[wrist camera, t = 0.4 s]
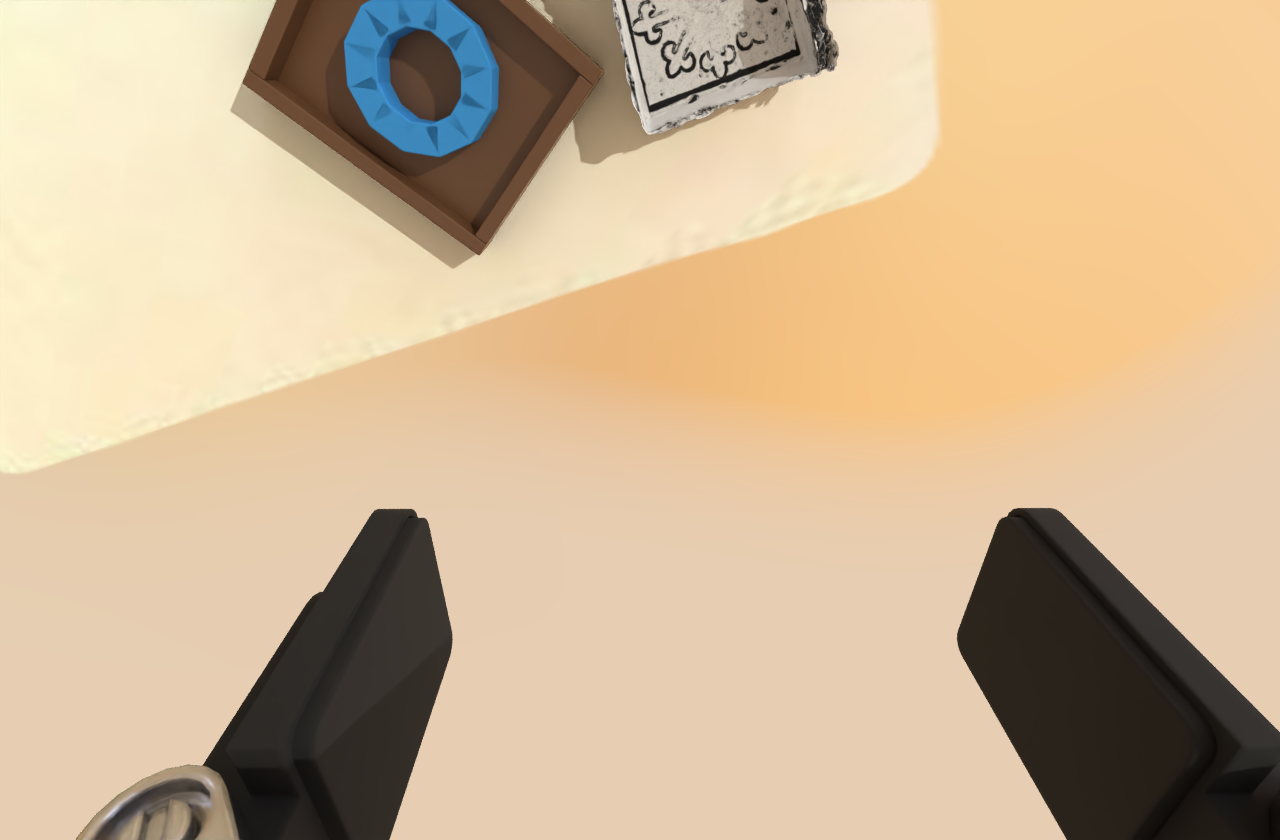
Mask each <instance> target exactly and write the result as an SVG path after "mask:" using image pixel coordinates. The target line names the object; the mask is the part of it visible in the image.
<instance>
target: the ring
mask: <svg viewBox="0 0 1280 840" xmlns="http://www.w3.org/2000/svg"><path fill="white" fill-rule="evenodd" d="M417 29H419V30H424V31H430V32H432V33H433V34H434V35H435V36H436V37H438V38H439V39H440V40H441V41H442V42H443V43H445V44H446V45H447V46H448V47H449V48H450V49H451V52H452V54H453V56H454V58H455V60H456V62H457V64H458V67H459V69H460V71H461V97H460V99H459V101H458V103H457V104H456V106H455V108H454V110H453V111H452V113H451V115H450V116H448V117H446V118H444V119H441V120H439V121H431V120H425V119H420V118H418V117H417V116H416V115H415V114H413V113H412V112H411V111H410V110H408V109H407V108H406V107H404V106H403V105H402V104H401V102H400V100H399V98H398V96H397V95H396V93H395V91H394V89H393V87H392V85H391V83H390V62H389V58H390V56H391V54H392V52H393V50H394V48H395V46H396V44H397V42H398V40H399V38H401V37H403V36H405V35H407V34H409V33H411V32H413V31H415V30H417ZM344 50H345V63H346V76H347V86H348V88H349V90H350V92H351V94H352V95H353V97H354V99H355V101H356V103H357V104H358V106H359V108H360V110H361V112H362V113H363V115H364V117H365V119H366V121H367V123H368V124H369V125H370V127H371V128H373V129H374V130H375V131H377V132H378V133H379V134H381V135H382V136H383V137H385V138H386V139H387V140H389V141H390V142H391V143H392V144H394V145H395V146H396V147H398V148H399V149H400V150H402V151H404V152H410V153H416V154H422V155H428V156H434V157H442V156H444V155H447V154H449V153H452V152H454V151H456V150H458V149H461V148H463V147H465V146H467V145H469V144H472V143H474V142H476V141H478V140H479V139H480V138H481V136H482V134H483V133H484V131H485V130H486V128H487V126H488V125H489V123H490V121H491V120H492V118H493V116H494V115H495V113H496V111H497V109H498V90H499V67H498V65H497V62H496V60H495V58H494V55H493V53H492V51H491V49H490V46H489V44H488V42H487V39H486V37H485V35H484V32H483V30H482V28H481V27H480V26H479V25H478V24H477V23H476V22H475V21H473V20H472V19H471V18H470V17H469V16H468V15H466V14H465V13H464V12H463V11H462V10H461V9H460V8H458V7H457V6H456V5H455V4H454V3H453V2H451V1H450V0H370V1H368V2H366V3H364V4H363V5H361V7H360V9H359V11H358V13H357V15H356V17H355V19H354V21H353V23H352V26H351V28H350V30H349V32H348V34H347V36H346V38H345V40H344Z"/></svg>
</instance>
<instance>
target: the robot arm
mask: <svg viewBox="0 0 1280 840" xmlns="http://www.w3.org/2000/svg"><path fill="white" fill-rule="evenodd" d="M957 642H958V646H959V650H960V652H961V655H962V657H963V659H964V660H965V662H966V664H967V666H968V667H969V669H970V671H971V673H972V674H973V676H974V678H975V679H976V681H977V683H978V685H979V686H980V688H981V690H982V692H983V694H984V695H985V697H986V699H987V700H988V702H989V704H990V706H991V708H992V709H993V711H994V713H995V715H996V716H997V718H998V720H999V721H1000V723H1001V725H1002V727H1003V729H1004V730H1005V732H1006V734H1007V736H1008V737H1009V739H1010V741H1011V743H1012V745H1013V746H1014V748H1015V750H1016V752H1017V753H1018V755H1019V757H1020V759H1021V760H1022V762H1023V764H1024V766H1025V767H1026V769H1027V771H1028V773H1029V774H1030V776H1031V778H1032V779H1033V781H1034V783H1035V785H1036V786H1037V788H1038V790H1039V792H1040V794H1041V795H1042V797H1043V799H1044V801H1045V802H1046V804H1047V806H1048V808H1049V809H1050V811H1051V813H1052V815H1053V816H1054V818H1055V820H1056V821H1057V823H1058V825H1059V827H1060V829H1061V830H1062V832H1063V834H1064V835H1065V837H1066V839H1067V840H1280V732H1279V731H1278V730H1277V729H1276V728H1275V727H1274V726H1273V725H1272V724H1271V723H1270V722H1269V721H1268V720H1267V719H1266V718H1265V717H1264V716H1263V715H1262V714H1261V713H1260V712H1259V711H1258V710H1257V709H1256V708H1255V707H1254V706H1253V705H1252V704H1251V703H1250V702H1249V701H1248V700H1247V699H1246V698H1245V697H1244V696H1243V695H1242V694H1241V693H1240V692H1239V691H1238V690H1237V689H1236V688H1235V687H1234V686H1233V685H1232V684H1231V683H1230V682H1229V681H1228V680H1227V679H1226V678H1225V677H1224V676H1223V675H1222V674H1221V673H1220V672H1219V671H1218V670H1217V669H1216V668H1215V667H1214V666H1213V665H1212V664H1211V663H1210V662H1209V661H1208V660H1207V659H1206V658H1205V657H1204V656H1203V655H1202V654H1201V653H1200V652H1199V651H1198V650H1197V649H1196V648H1195V647H1194V646H1193V645H1192V644H1191V643H1190V642H1189V641H1188V640H1187V639H1186V638H1185V637H1184V636H1183V635H1182V634H1181V633H1180V632H1179V631H1178V630H1177V629H1176V628H1175V627H1174V626H1173V625H1172V624H1171V623H1170V622H1169V621H1168V620H1167V619H1166V618H1165V617H1164V616H1163V615H1162V614H1161V613H1160V612H1159V611H1158V610H1157V609H1156V608H1155V607H1154V606H1153V605H1152V604H1151V603H1150V602H1149V601H1148V600H1147V598H1145V597H1144V595H1143V594H1142V593H1140V591H1138V589H1137V588H1136V587H1135V586H1134V585H1133V584H1132V583H1130V581H1128V579H1126V577H1125V576H1124V575H1123V574H1122V573H1121V572H1120V571H1118V570H1117V568H1115V566H1114V565H1113V564H1112V563H1111V562H1110V561H1109V560H1107V558H1106V557H1105V556H1104V555H1103V554H1102V553H1100V551H1099V550H1098V549H1097V548H1096V547H1095V546H1094V545H1093V544H1092V543H1091V542H1090V541H1089V540H1088V539H1087V538H1086V537H1085V536H1084V535H1083V534H1082V533H1081V532H1080V531H1079V530H1078V529H1077V528H1076V527H1075V526H1074V525H1073V524H1072V523H1071V522H1070V521H1069V520H1068V519H1067V518H1066V517H1065V516H1064V515H1063V514H1062V513H1060V512H1059V511H1057V510H1056V509H1052V508H1017V509H1013V510H1012V511H1011V512H1009V514H1008V516H1007V517H1004V518H1002V519H1001V520H999V522H998V524H997V527H996V529H995V532H994V535H993V538H992V540H991V543H990V545H989V548H988V551H987V554H986V557H985V559H984V562H983V565H982V567H981V570H980V573H979V575H978V578H977V581H976V584H975V586H974V589H973V592H972V594H971V597H970V600H969V603H968V605H967V608H966V611H965V613H964V616H963V619H962V622H961V624H960V627H959V630H958V634H957ZM451 649H452V630H451V626H450V621H449V617H448V611H447V607H446V602H445V598H444V593H443V588H442V584H441V579H440V574H439V570H438V565H437V561H436V556H435V551H434V547H433V542H432V537H431V533H430V528H429V524H428V521H427V520H426V519H425V518H418V517H417V514H416V512H415V511H414V510H412V509H377V510H375V511H374V512H373V513H372V514H371V516H370V517H369V519H368V521H367V522H366V524H365V525H364V527H363V529H362V530H361V532H360V534H359V535H358V537H357V538H356V540H355V541H354V543H353V545H352V546H351V548H350V549H349V551H348V553H347V554H346V556H345V557H344V559H343V561H342V562H341V564H340V565H339V567H338V569H337V570H336V572H335V574H334V575H333V577H332V578H331V580H330V581H329V583H328V585H327V586H326V588H325V590H324V591H323V592H319V593H317V594H316V595H314V596H313V597H312V598H311V599H310V600H309V602H308V603H307V604H306V605H305V607H304V608H303V610H302V612H301V613H300V615H299V616H298V618H297V619H296V621H295V622H294V624H293V626H292V627H291V629H290V630H289V632H288V633H287V635H286V637H285V638H284V640H283V641H282V643H281V644H280V646H279V647H278V649H277V650H276V652H275V654H274V655H273V657H272V658H271V660H270V661H269V663H268V664H267V666H266V668H265V669H264V671H263V672H262V674H261V676H260V677H259V678H258V680H257V682H256V683H255V685H254V686H253V688H252V689H251V691H250V693H249V694H248V696H247V697H246V699H245V700H244V702H243V703H242V705H241V706H240V708H239V710H238V711H237V713H236V715H235V716H234V717H233V719H232V721H231V722H230V724H229V725H228V727H227V728H226V730H225V731H224V733H223V735H222V736H221V738H220V739H219V741H218V742H217V744H216V745H215V747H214V749H213V750H212V752H211V753H210V755H209V756H208V758H207V759H206V761H205V763H204V764H203V766H198V765H184V766H180V767H174V768H169V769H165V770H163V771H161V772H158V773H156V774H154V775H151V776H149V777H146V778H144V779H142V780H141V781H139V782H137V783H136V784H134V785H133V786H131V787H130V788H128V789H127V790H125V791H123V792H122V793H120V794H119V795H118V796H116V797H115V798H114V799H113V800H112V801H111V802H109V803H108V804H107V805H106V806H105V807H104V808H103V809H101V810H100V811H99V812H98V813H97V814H96V815H95V816H94V817H93V818H92V820H91V821H90V822H89V823H88V825H87V826H86V827H85V828H84V830H83V831H82V832H81V833H80V834H79V835H78V837H77V839H76V840H389V839H390V836H391V833H392V830H393V827H394V824H395V821H396V818H397V815H398V812H399V809H400V806H401V803H402V799H403V797H404V794H405V790H406V788H407V784H408V781H409V778H410V776H411V773H412V770H413V767H414V763H415V760H416V757H417V754H418V751H419V748H420V745H421V742H422V739H423V736H424V733H425V730H426V727H427V724H428V721H429V718H430V715H431V712H432V709H433V706H434V703H435V700H436V697H437V694H438V690H439V688H440V685H441V682H442V679H443V676H444V672H445V670H446V667H447V663H448V661H449V658H450V654H451Z"/></svg>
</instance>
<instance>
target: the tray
mask: <svg viewBox="0 0 1280 840" xmlns="http://www.w3.org/2000/svg"><path fill="white" fill-rule="evenodd" d="M368 1H370V0H277V1H276V3H275V6H274V8H273V11H272V13H271V16H270V18H269V20H268V23H267V25H266V28H265V30H264V32H263V35H262V37H261V40H260V42H259V44H258V47H257V49H256V52H255V54H254V57H253V59H252V61H251V64H250V66H249V70H248V71H247V73H246V76H245V78H244V81H243V84H244V85H246V86H247V87H248V88H250V89H251V90H252V91H254V92H255V93H257V94H258V95H259V96H261V97H262V98H263V99H265V100H266V101H268V102H269V103H270V104H272V105H273V106H274V107H276V108H277V109H279V110H280V111H281V112H283V113H284V114H285V115H287V116H288V117H290V118H291V119H292V120H294V121H295V122H296V123H298V124H299V125H300V126H302V127H303V128H305V129H306V130H307V131H309V132H310V133H311V134H313V135H314V136H316V137H317V138H318V139H320V140H321V141H322V142H324V143H325V144H327V145H328V146H329V147H331V148H332V149H333V150H335V151H336V152H338V153H339V154H340V155H342V156H343V157H344V158H346V159H347V160H349V161H350V162H351V163H353V164H354V165H355V166H357V167H358V168H360V169H361V170H362V171H364V172H365V173H366V174H368V175H369V176H370V177H372V178H373V179H375V180H376V181H377V182H379V183H380V184H381V185H383V186H384V187H386V188H387V189H388V190H390V191H391V192H392V193H394V194H395V195H397V196H398V197H399V198H401V199H402V200H403V201H405V202H406V203H408V204H409V205H410V206H412V207H413V208H414V209H416V210H417V211H419V212H420V213H421V214H423V215H424V216H425V217H427V218H428V219H429V220H431V221H432V222H434V223H435V224H436V225H438V226H439V227H440V228H442V229H443V230H445V231H446V232H447V233H449V234H450V235H451V236H453V237H454V238H456V239H457V240H458V241H460V242H461V243H462V244H464V245H465V246H467V247H468V248H469V249H471V250H472V251H473V252H475V253H476V254H478V255H480V254H481V253H482V252H483V251H484V250H485V249H486V248H487V246H488V245H489V243H490V242H491V240H492V239H493V237H494V236H495V234H496V233H497V231H498V230H499V228H500V227H501V225H502V224H503V222H504V221H505V219H506V218H507V216H508V215H509V213H510V212H511V211H512V209H513V208H514V206H515V205H516V203H517V202H518V200H519V199H520V197H521V196H522V194H523V193H524V191H525V190H526V188H527V187H528V185H529V184H530V182H531V181H532V179H533V178H534V176H535V175H536V173H537V172H538V170H539V169H540V167H541V166H542V164H543V163H544V161H545V160H546V158H547V157H548V155H549V154H550V152H551V151H552V149H553V148H554V146H555V145H556V143H557V142H558V140H559V139H560V137H561V136H562V134H563V133H564V131H565V130H566V128H567V127H568V125H569V124H570V122H571V121H572V119H573V118H574V116H575V115H576V113H577V112H578V110H579V109H580V107H581V106H582V104H583V103H584V102H585V100H586V99H587V97H588V96H589V94H590V93H591V91H592V90H593V88H594V87H595V85H596V84H597V82H598V81H599V79H600V78H601V76H602V75H603V73H604V71H603V70H602V69H601V68H600V67H599V66H598V65H597V64H596V63H595V62H593V61H592V60H591V59H590V58H589V57H588V56H587V55H586V54H585V53H584V52H582V51H581V50H580V49H579V48H578V47H577V46H576V45H575V44H574V43H573V42H571V41H570V40H569V39H568V38H567V37H566V36H565V35H564V34H563V33H562V32H560V31H559V30H558V29H557V28H556V27H555V26H554V25H553V24H552V23H551V22H549V21H548V20H547V19H546V18H545V17H544V16H543V15H542V14H541V13H540V12H538V11H537V10H536V9H535V8H534V7H533V6H532V5H531V4H530V3H529V2H527V1H526V0H450V1H451V2H453V3H454V4H455V5H456V6H457V7H458V8H460V9H461V10H462V11H463V12H464V13H465V14H466V15H468V16H469V17H470V18H471V19H472V20H473V21H475V22H476V23H477V24H478V25H479V26H480V27H481V28H482V30H483V32H484V35H485V37H486V39H487V42H488V44H489V46H490V49H491V51H492V53H493V55H494V58H495V60H496V62H497V65H498V67H499V90H498V109H497V111H496V113H495V115H494V116H493V118H492V120H491V121H490V123H489V125H488V126H487V128H486V130H485V131H484V133H483V134H482V136H481V138H480V139H479V140H478V141H476V142H474V143H472V144H469V145H467V146H465V147H463V148H461V149H458V150H456V151H454V152H452V153H449V154H447V155H444V156H442V157H434V156H428V155H422V154H416V153H410V152H404V151H402V150H400V149H399V148H398V147H396V146H395V145H394V144H392V143H391V142H390V141H389V140H387V139H386V138H385V137H383V136H382V135H381V134H379V133H378V132H377V131H375V130H374V129H373V128H371V127H370V125H369V124H368V123H367V121H366V119H365V117H364V115H363V113H362V112H361V110H360V108H359V106H358V104H357V103H356V101H355V99H354V97H353V95H352V94H351V92H350V90H349V88H348V86H347V76H346V63H345V50H344V40H345V38H346V36H347V34H348V32H349V30H350V28H351V26H352V23H353V21H354V19H355V17H356V15H357V13H358V11H359V9H360V7H361V5H363V4H364V3H366V2H368ZM389 62H390V83H391V85H392V87H393V89H394V91H395V93H396V95H397V96H398V98H399V100H400V102H401V104H402V105H403V106H404V107H406V108H407V109H408V110H410V111H411V112H412V113H413V114H415V115H416V116H417V117H418V118H420V119H425V120H431V121H439V120H441V119H444V118H446V117H448V116H450V115H451V113H452V111H453V110H454V108H455V106H456V104H457V103H458V101H459V99H460V97H461V71H460V69H459V67H458V64H457V62H456V60H455V58H454V56H453V54H452V52H451V49H450V48H449V47H448V46H447V45H446V44H445V43H443V42H442V41H441V40H440V39H439V38H438V37H436V36H435V35H434V34H433V33H432V32H430V31H424V30H419V29H417V30H415V31H413V32H411V33H409V34H407V35H405V36H403V37H401V38H399V40H398V42H397V44H396V46H395V48H394V50H393V52H392V54H391V56H390V58H389Z"/></svg>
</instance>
